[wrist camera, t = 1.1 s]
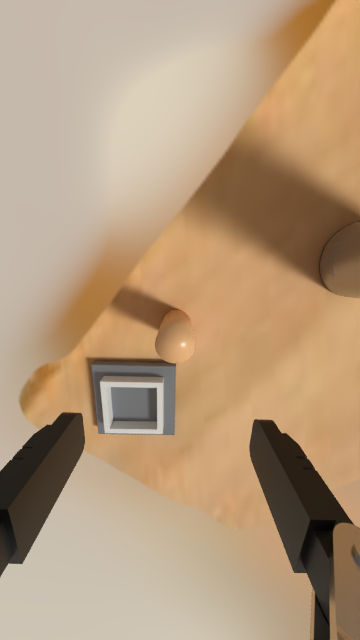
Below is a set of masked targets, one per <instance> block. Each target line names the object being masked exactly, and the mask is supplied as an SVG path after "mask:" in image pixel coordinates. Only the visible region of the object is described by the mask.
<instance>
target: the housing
mask: <svg viewBox="0 0 360 640" xmlns="http://www.w3.org/2000/svg"><path fill="white" fill-rule="evenodd" d="M91 367H92V376H93V386H94V395H95V405H96V414H97V424H98V433H99V434H141V435H174V430H175V377H176V363H169V362H121V361H95V362H94V363H93V364H92V365H91Z"/></svg>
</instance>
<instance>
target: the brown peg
mask: <svg viewBox="0 0 360 640" xmlns="http://www.w3.org/2000/svg"><path fill="white" fill-rule="evenodd" d="M155 348H156V351H157V353H158V355H159V356H160V357H161V358H162V359H163V360H165V361H166V362H169V363H182V362H184V361H186V360H188V359H189V358H190V357H191V356H192V354H193V353H194V350H195V339H194V335H193V330H192V326H191V321H190V318H189V316H188V315H187V314H186V313H185V312H183V311H181V310H172V311H170V312H168V313H167V314H166V315H165V316H164V318H163V321H162V323H161V326H160V329H159V332H158V335H157V338H156V341H155Z"/></svg>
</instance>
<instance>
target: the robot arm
mask: <svg viewBox="0 0 360 640" xmlns="http://www.w3.org/2000/svg"><path fill="white" fill-rule="evenodd" d="M320 273H321V277H322V280H323V282H324V284H325V285H326V287H327V288H328V289H329V290H330V291H332V292H334V293H335V294H337V295H341V296H347V297H354V298H360V221H359V222H356V223H353V224H351V225H348V226H346V227H344V228H343V229H341V230H340V231H338V232H337V233H336V234H335V235H334V236H333V237H332V238H331V240H330V241H329V242H328V244H327V245H326V247H325V249H324V251H323V254H322V257H321V261H320ZM84 444H85V435H84V426H83V417H82V414H81V413H67V412H64V413H62V414H60V416H59V417H58V418H57V419H56V420H55V421H54V423H53V424H52V425H46V426H45V427H44V428H42V429H41V430H39V431H38V432H37V433H35V434H34V435H33V436H32V437H31V438H30V439H29V440H28V441H27V442H26V444H25V445H24V446H23V448H22V449H20V450H19V451H18V452H17V454H16V455H15V456H14V457H13V459H12V460H10V461H9V462H8V463H7V465H6V466H5V467H4V468H3V469H2V470H1V471H0V576H1V575H2V573H3V571H4V570H5V568H6V566H7V565H8V563H12V564H22V563H23V561H24V560H25V558H26V556H27V554H28V552H29V551H30V549H31V547H32V545H33V543H34V541H35V539H36V538H37V536H38V534H39V532H40V530H41V528H42V527H43V524H44V523H45V521H46V519H47V517H48V515H49V513H50V512H51V510H52V508H53V506H54V504H55V502H56V501H57V499H58V497H59V495H60V493H61V491H62V490H63V488H64V486H65V484H66V482H67V480H68V479H69V477H70V474H71V473H72V471H73V469H74V467H75V466H76V464H77V462H78V460H79V458H80V456H81V454H82V452H83V449H84ZM250 457H251V460H252V463H253V466H254V469H255V471H256V474H257V477H258V479H259V482H260V484H261V487H262V490H263V492H264V495H265V498H266V500H267V503H268V506H269V508H270V511H271V513H272V516H273V519H274V521H275V524H276V526H277V529H278V532H279V534H280V537H281V539H282V542H283V545H284V547H285V550H286V553H287V555H288V558H289V560H290V563H291V566H292V569H293V571H294V573H307V575H308V577H309V579H310V582H311V584H312V587H313V589H312V599H311V623H310V624H311V625H310V640H360V528H359V527H357V526H355V525H354V524H353V523H352V521H351V520H350V519H349V517H348V516H347V514H346V513H345V511H344V510H343V508H342V507H341V505H340V504H339V503H338V501H337V500H336V498H335V497H334V495H333V494H332V492H331V491H330V490H329V488H328V487H327V485H326V484H325V482H324V481H323V479H322V478H321V476H320V475H319V474H318V472H317V471H315V468H314V466H313V465H312V463H311V462H310V461H309V459H307V456H306V455H305V453H304V452H303V450H302V449H301V447H300V446H299V445H298V443H296V442H295V441H294V440H293V439H292V438H291V437H290V436H289V435H287V434H286V433H281V432H280V430H279V429H278V427H277V426H276V424H275V423H274V421H272V420H257V419H256V420H254V422H253V428H252V434H251V440H250Z"/></svg>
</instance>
